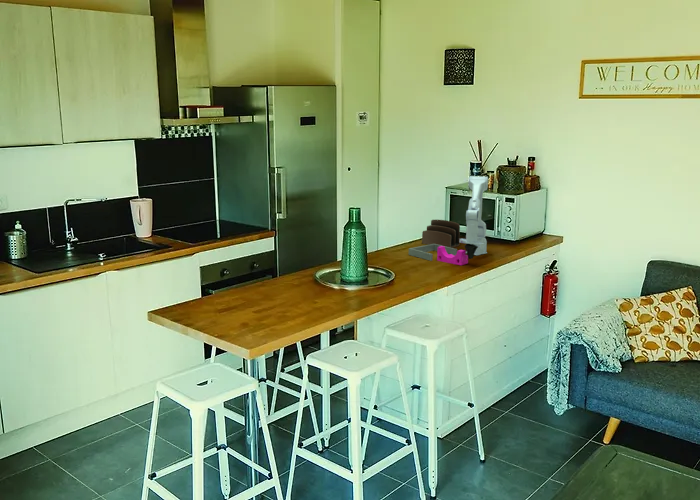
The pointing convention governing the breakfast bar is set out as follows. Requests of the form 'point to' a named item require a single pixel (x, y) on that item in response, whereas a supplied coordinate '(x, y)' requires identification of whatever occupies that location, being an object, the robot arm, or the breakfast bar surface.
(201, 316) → the breakfast bar surface
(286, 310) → the breakfast bar surface
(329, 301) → the breakfast bar surface
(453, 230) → the letter holder
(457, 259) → the toy block
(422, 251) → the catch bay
